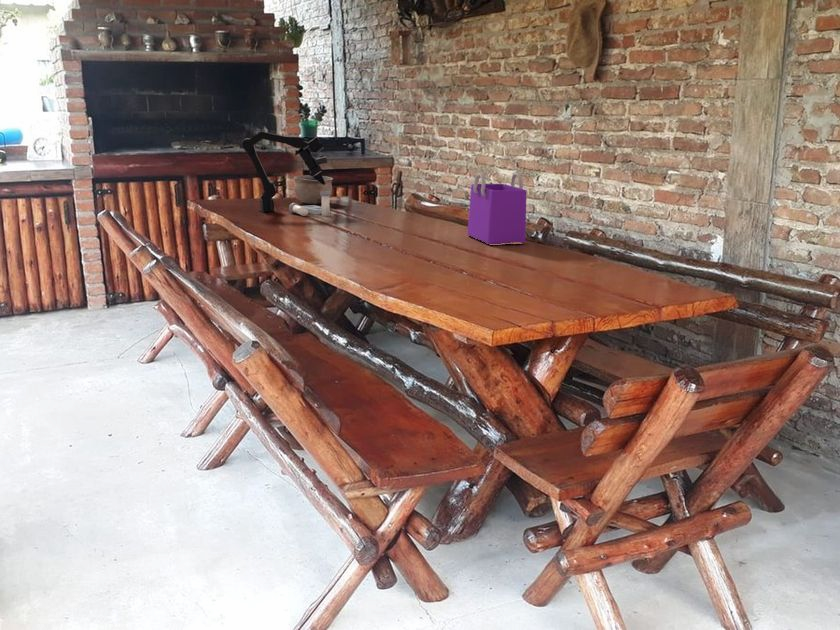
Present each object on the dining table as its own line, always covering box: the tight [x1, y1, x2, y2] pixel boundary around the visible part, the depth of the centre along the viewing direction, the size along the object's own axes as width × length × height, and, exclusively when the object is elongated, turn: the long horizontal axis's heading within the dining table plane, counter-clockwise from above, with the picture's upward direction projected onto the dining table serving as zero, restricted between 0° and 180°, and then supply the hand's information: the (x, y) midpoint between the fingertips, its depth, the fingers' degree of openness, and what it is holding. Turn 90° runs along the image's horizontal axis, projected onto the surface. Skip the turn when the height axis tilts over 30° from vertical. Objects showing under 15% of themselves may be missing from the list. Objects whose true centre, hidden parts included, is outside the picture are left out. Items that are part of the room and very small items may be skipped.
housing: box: [300, 204, 331, 216], centre depth 436 cm, size 16×9×2 cm, turn 40°
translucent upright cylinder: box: [320, 191, 332, 217], centre depth 424 cm, size 5×5×12 cm
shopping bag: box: [467, 171, 527, 244], centre depth 362 cm, size 28×22×30 cm
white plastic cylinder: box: [288, 202, 309, 217], centre depth 426 cm, size 12×5×5 cm, turn 34°
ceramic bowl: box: [293, 174, 334, 205], centre depth 468 cm, size 22×22×15 cm
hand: (324, 183), depth 435 cm, fingers open, 9 cm apart
